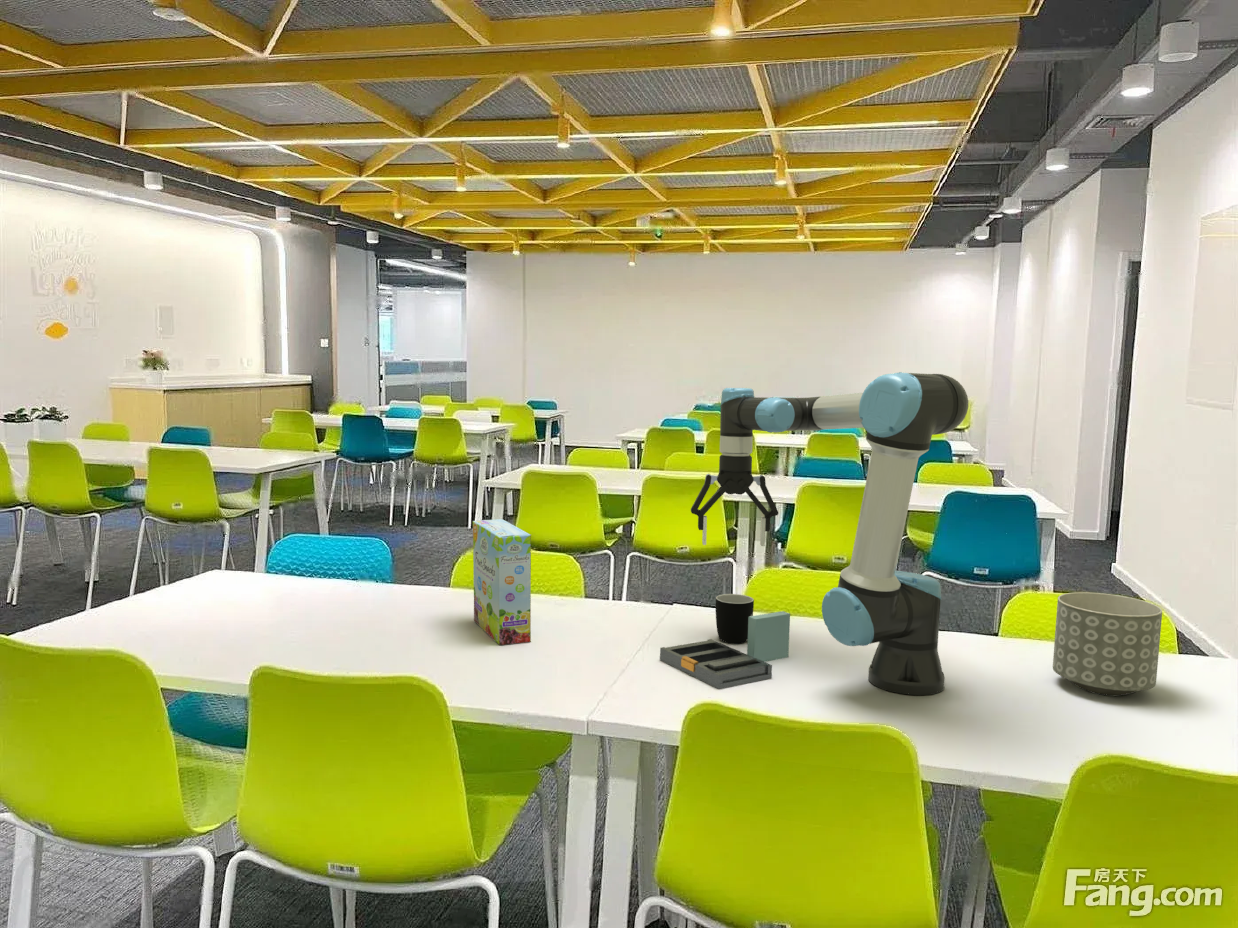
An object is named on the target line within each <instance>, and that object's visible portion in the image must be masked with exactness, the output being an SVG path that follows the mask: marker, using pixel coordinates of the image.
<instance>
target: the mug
mask: <svg viewBox="0 0 1238 928" xmlns="http://www.w3.org/2000/svg"><path fill="white" fill-rule="evenodd" d="M754 600H755V599H754V598H753V597H751V596H749V595H745V594H738V593H725V594H723V593H722V594H719V595H717V596H716V597H715V623H716V630H717V631H716V632H717V635H718V638H719V640H720V641H721V642H723V643H725V644H731V645H741V644H745V643H746V642H748V618H749V617H750V616H754V609H755V608H754V605H755V603H754V602H755V601H754Z"/></svg>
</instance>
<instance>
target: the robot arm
mask: <svg viewBox="0 0 1238 928" xmlns="http://www.w3.org/2000/svg"><path fill="white" fill-rule="evenodd" d="M720 398H721V399H720V404H719V406H720V421H719V422H720V424H719V425H720V426H719V428H720V432H719V433H720V434H719V437H720V438H719V452H720V453H721V455H720V456H719V459H718V460H719V465H718V466H719V467H718V474H717V475H713V474H710V473H707V474H705V476H704V477H705V478H704V483H703V485H702V487H701V489H700V491H699V492H698V495H697V497H696V498H695V500H694V502H693V503H692V506H691V508H690V512H691V514H692V515H696V516H697V528H698V530H699V531H702V538H701V539H702V540H701V541H702V546H706V545H707V531H708V529H707V527H708V526H707V525H708V523H707V522H708V521H707V520H708V517H707V515H706V514H707V512H708V511H710V509H711V508H712V507H713V505H715V504H716V502H717V501H718V500H719V499H720V498H721V497H722V496H723V495H724V494H727V495H734V494H735V495H739V496H740V495H741V496H742V495H743V494H745V493H746V495H747V497H748V498H750V499H751V501H752V502H753V503H754V505H755V506H756V507H757V509H758V510H759V511H760V512H761V513H762V514H763V516H760V536H759V537H760V540H759V541H760V543H759V544H760V547H765V546H766V532H770V530H771V518H772V517H775V516H778V515H779V511H778V508H777V506H776V504H775V502H774V500H773V498H772V496H771V494H770V491H769V490H768V487H767V483H766V477H765V476H764V475H763V474H760V475H756V476H753V473H752V472H753V471H752V470H753V469H752V468H753V466H752V465H753V457H752V455H751V454H752V453H753V439H754V438H753V437H754V436H753V435H754V434H753V431H759V432H767V433H770V434H771V433H772V434H773V433H784V432H790V431H791V432H792V431H793V432H794V431H813V432H815V431H817V432H818V431H823V430H837V429H838V430H841V429H864V430H865V431H866V436H865V440H866V441H867V443H868V444H869V446H870V447H871V453H870V460H869V466H868V469H867V470H868V471H867V474H866V479H865V481H866V482H865V484H864V485H865V486H864V491H863V496H862V502H861V506H860V512H859V516H858V522H857V527H856V532H855V538H854V543H853V549H852V553H851V554H852V555H851V559H850V563H849V565H848V566H846V567H845V568H843V569H842V570H841V571H840V574H839V580H838V585H837V587H833V588H831V589H829V591H827V592H826V593H825V595H824V596H823V598H822V603H821V614H822V619H823V621H824V625H825V626H826V627H827V630H828V632H829V633H830V635H831V636H832V637H833V638H834V639H835V640H836V641H837V642H838V643H840V644H842V645H844V646H847V647H857V646H858V647H859V646H861V647H865V646H869V645H871V644H875V643H878V645H877V647H876V650H875V652H874V655H873V658H872V661H871V664H869V666H868V673H867V674H868V676H867V678H868V681H869V683H871V685H873V686H875V687H877V688H879V689H881V690H885V691H888V692H892V693H896V694H903V695H911V696H913V695H915V696H926V695H935V694H938V693H940V692H942V691H943V690H944V689H945V682H946V681H945V680H946V679H945V674H944V671H943V668H942V663H941V659H940V655H939V650H938V649H939V647H938V645H939V644H938V643H939V631H940V628H939V627H940V618H941V617H940V615H941V603H942V602H941V601H942V589H941V588H942V587H941V586H942V585H941V583H940V582H939V580H938V579H936V578H934V577H931V576H929V575H928V576H927V575H925V574H920V573H915V572H910V571H901V570H896V568H897V564H898V560H899V554H900V550H901V544H902V540H903V535H904V530H905V525H906V520H907V516H908V510H909V506H910V502H911V498H912V497H911V496H912V491H913V486H914V483H915V477H916V472H917V468H918V461H919V458H920V457H921V456H922V455H924V454H925V453H927V452H928V451H929V450H930V446H931V442H932V438H933V436H934V435H942V434H946V433H949V432H951V431H953V430H955V429H956V428H957V427H959V425H961V424H962V423H963V421H964V420H965V419H966V416H967V413H968V410H969V398H968V394H967V391H966V390H965V388H964V386H963V385H962V384H961V383H960V382H959V381H958V380H956V379H955V378H954V377H952V376H949V375H946V374H942V373H918V372H917V373H915V372H914V373H913V372H902V371H899V372H895V373H886V374H882V375H879V376H878V377H876V378H875V379H874V380H871V382H869V384H867V385H866V387H865V389H864V391H863V392H858V393H857V392H856V393H855V392H854V393H843V394H835V395H834V394H833V395H825V396H824V395H823V396H812V397H778V396H777V397H763V396H762V397H755V394H754V390H753V389H752V388H750V387H748V388H747V387H726V388H724V389H722V391H721V397H720ZM716 481H717V483H718V485H719V487H718V488H717V490H716V491H715V492H714V493H713V494H712V496H710V498H709V499H708V500H707V501H706V503H705V504H704V505H703V506H702V507H701V508H700V509H699V507H700V506H701V503H702V502H703V500H704V498H705V497H706V494H707V493H708V491H709V489H710V487H711V485H714V483H715V482H716ZM754 482H755V484H756V485H757V486H759V488H760V491H762V494H763V496H764V498H765V501H766V503H767V505H768V507H769V508H770V510H768V509H766V507H765V506H764V505H763V504H762V502H761V500H759V499H758V497H757V496H756V495H755V493H753V491H752V490H751V489H750V487H751V486H752V484H753V483H754Z"/></svg>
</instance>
